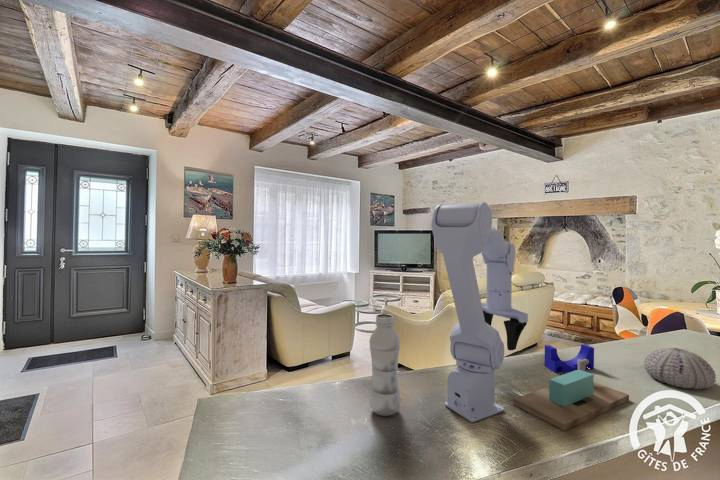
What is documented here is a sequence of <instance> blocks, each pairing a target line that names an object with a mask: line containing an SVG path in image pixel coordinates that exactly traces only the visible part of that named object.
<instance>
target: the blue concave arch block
mask: <svg viewBox="0 0 720 480" xmlns="http://www.w3.org/2000/svg"><path fill="white" fill-rule="evenodd" d="M578 359H581V360H584V359H588V360H589V364H586V365H585V369H586V370H595V348H594V347H593V346H591V345H588V344H585V343H584V344H583V343H582V344H580V349H579V351H578V353H577V355H576V356H575V357H573V358H571V359H569V360H561V358H560V357H559V354H558V349H557V348H556V347H554V346H552V345H550V344H547V345H544V363H543V364H544V367H545V368H546V369H548V370H550V371H551V372H553V373H554V374H555V373H556V374H557V372H558V373H559V372H562V373H569V372H572V371H575V370H576V369H578ZM587 367H588V368H590V369H588V368H587ZM559 374H560V373H559Z"/></svg>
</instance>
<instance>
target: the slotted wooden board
mask: <svg viewBox="0 0 720 480" xmlns="http://www.w3.org/2000/svg"><path fill="white" fill-rule="evenodd" d="M586 364H589V360H588V359H584V360H581V359H578V369H579V370H582V371H585V372H586V370H585V365H586ZM580 401H584V402H586V403H583V404H581V405H575V404H574V403H572V404H569V405H567V406H565V407H563V406H561V405H559V404H557V403H555V402H552V401H550V400H549V386H547V387H543V388H540V389H538V390H535V391H533V392H530V393H527V394H524V395H521V396H518V397H516V398H513V406H516V407H518V408H520V409H522V410H523V411H525V412H527V413H529V414H531V415H533V416H535V417H537V418H540V419H541V420H543V421H545V422H547V423H549V424H551V425H552V426H555V427H557V428H558V429H561V430H563V431H567V430H570V429H572V428H574V427H576V426H578V425H581V424H583V423H585V422H586V421H588V420H590V419H592V418H595V417H596V416H599V415H601V414H603V413H605V412H607V411H610V410H611V409H614V408H616V407H618V406H619V405H621V404H624V403H626V402H629V401H630V394H627V393H624V392H623V391H619V390H616V389H613V388H611V387H609V386H605V385H603V384H599V383H597V382H594V383H593V395H591V396H589V397H586V398H584V399H581V400H580Z"/></svg>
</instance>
